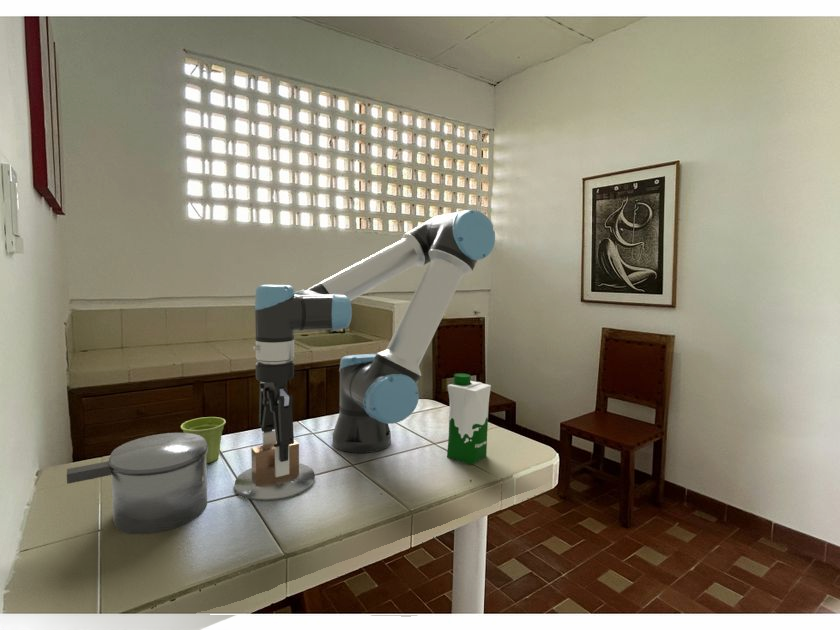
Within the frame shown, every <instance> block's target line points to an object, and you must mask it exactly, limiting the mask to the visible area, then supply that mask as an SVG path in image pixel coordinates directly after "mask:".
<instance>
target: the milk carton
mask: <svg viewBox="0 0 840 630" xmlns="http://www.w3.org/2000/svg"><path fill="white" fill-rule="evenodd" d="M471 376H472V375H470V374H468V373H461V372H459V373H454V374H453V382H452V383H450V384H447V392H448V398H449V411H448V412H449V416H448V418H449V419H448V438H447V439H448V440H447V451H446V457H447V458H448V459H451V460H456V461H459V462H461V463H465V464H467V465H471V466H472V465H474V464H476V463H477V462H479V461H481V460H482V459H484V458H485V457H487V451H488V449H487V448H488V447H487V446H488V428H489V427H488V424H489V403H490V395H491V388H492V385H491V384H487V383H483V382H481V381H474V380H471Z"/></svg>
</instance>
